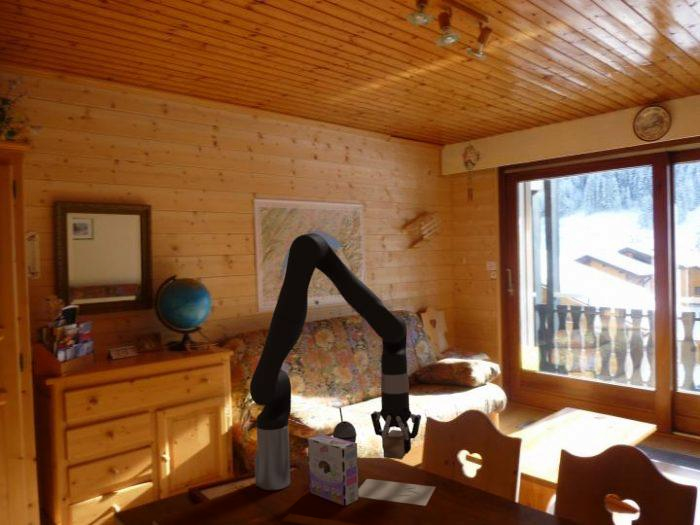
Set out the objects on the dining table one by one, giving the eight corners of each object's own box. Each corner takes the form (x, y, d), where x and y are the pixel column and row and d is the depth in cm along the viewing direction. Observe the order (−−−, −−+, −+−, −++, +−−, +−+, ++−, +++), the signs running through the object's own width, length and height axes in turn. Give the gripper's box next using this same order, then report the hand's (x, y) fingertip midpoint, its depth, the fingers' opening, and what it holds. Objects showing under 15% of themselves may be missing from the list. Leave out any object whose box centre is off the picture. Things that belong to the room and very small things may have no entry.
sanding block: (383, 457, 146) (383, 438, 146) (392, 447, 153) (391, 429, 153) (401, 459, 144) (401, 440, 144) (409, 449, 152) (408, 431, 152)
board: (352, 501, 147) (352, 495, 147) (367, 483, 158) (367, 478, 158) (425, 511, 140) (425, 505, 140) (435, 492, 151) (435, 486, 151)
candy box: (360, 504, 145) (358, 442, 145) (344, 512, 141) (342, 448, 141) (323, 490, 155) (322, 432, 155) (308, 497, 151) (306, 437, 150)
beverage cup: (357, 477, 163) (355, 410, 163) (333, 477, 164) (331, 410, 164) (357, 467, 171) (355, 403, 171) (334, 468, 171) (332, 404, 171)
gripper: (365, 391, 148) (367, 454, 148) (417, 394, 143) (419, 459, 143) (374, 384, 155) (376, 444, 155) (423, 387, 150) (425, 449, 150)
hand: (396, 451), depth 149 cm, fingers closed on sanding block, 5 cm apart
